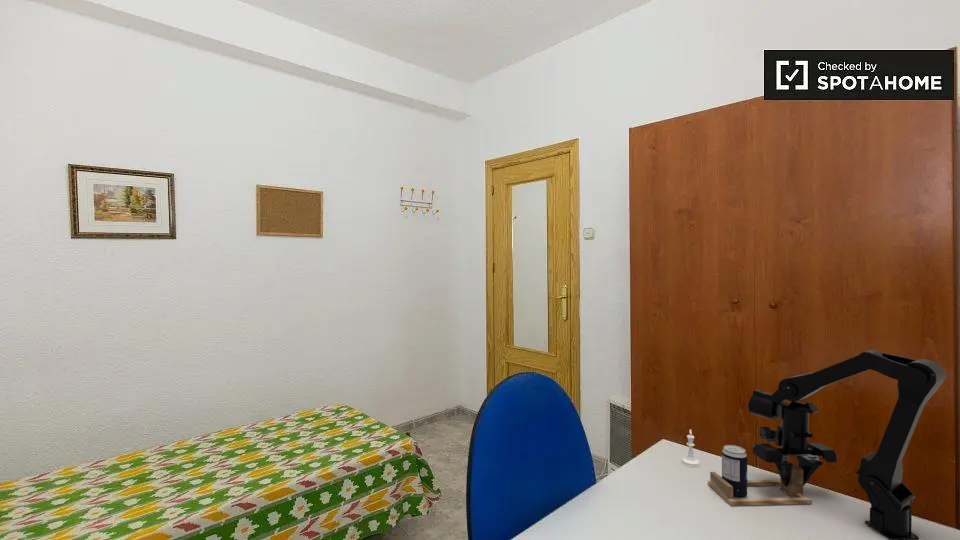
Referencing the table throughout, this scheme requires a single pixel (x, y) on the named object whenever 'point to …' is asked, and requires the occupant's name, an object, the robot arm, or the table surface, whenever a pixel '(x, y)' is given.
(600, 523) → the table surface
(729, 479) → the beverage can
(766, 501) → the wooden frame
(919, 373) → the robot arm
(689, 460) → the chess piece
